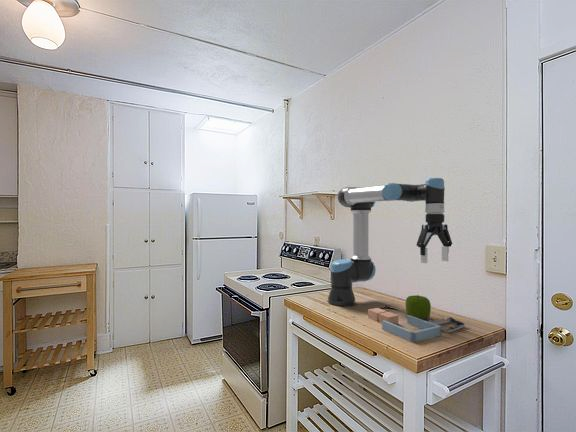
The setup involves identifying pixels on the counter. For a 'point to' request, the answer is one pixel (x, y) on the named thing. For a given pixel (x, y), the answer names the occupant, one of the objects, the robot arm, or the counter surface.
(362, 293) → the counter surface
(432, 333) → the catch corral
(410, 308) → the apple
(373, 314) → the terracotta tile
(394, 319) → the terracotta tile
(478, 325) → the counter surface
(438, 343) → the counter surface
